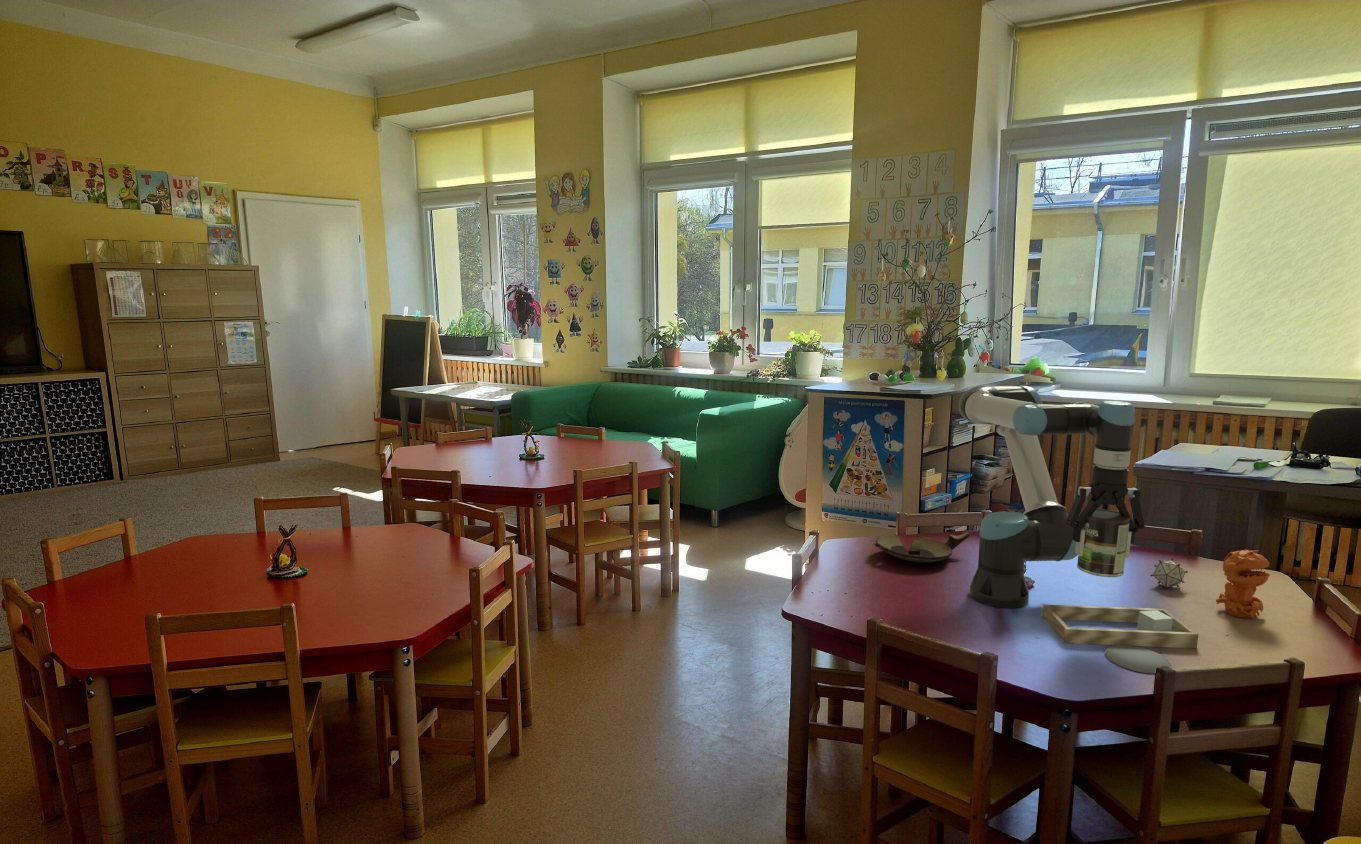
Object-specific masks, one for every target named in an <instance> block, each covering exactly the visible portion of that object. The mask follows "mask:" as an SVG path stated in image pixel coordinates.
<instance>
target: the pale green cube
mask: <svg viewBox="0 0 1361 844" xmlns="http://www.w3.org/2000/svg"><path fill="white" fill-rule="evenodd" d="M1172 622H1173V618H1171V617H1169V616H1167V615H1165V614H1163V613H1161V612H1159V611H1158V610H1154V611H1140V612H1139V619H1138V623H1137V629H1136V630H1142V631H1167V632H1171V631H1172Z"/></svg>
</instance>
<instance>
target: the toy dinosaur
mask: <svg viewBox="0 0 1361 844" xmlns="http://www.w3.org/2000/svg"><path fill="white" fill-rule="evenodd" d="M1259 551H1260V550H1258V549H1256V550H1249V549H1242V550H1236V551H1230V552H1228V553H1227V554H1226V557H1225V556H1224V559H1223V562H1222V563H1223V564H1222V571H1223V572H1224V574H1223V575H1224V576H1225V577H1226V580H1227V581H1228V582H1226V583H1225V585H1224V592H1223V593H1220V594H1219V596H1218V599H1215V602H1216V605H1218V604H1222V603H1224V609H1225V612H1226V613H1227V614H1229V615H1230V616H1234V617H1238V618H1243V619H1245V618H1246V619H1248V618H1249V619H1250V618H1252V619H1253V618H1254V617H1255V615H1257V616H1258V617H1260V615H1261V614H1260V612H1262V613H1263V611H1264V605H1263V604H1264V603H1263V601H1262V600H1261V599H1260V598H1258V597H1256V596H1254V595H1255V594H1256V591H1257V588H1258V587H1260V586H1262V585H1264V584H1265V583H1267V581H1268V579H1269V577H1270V576H1271V574H1270V573H1268V572H1266V571H1265V568H1269V567H1270V561H1269V560H1268V559H1267V558H1266V557H1264V555H1262V554H1259V553H1258V552H1259ZM1263 570H1264V571H1263ZM1259 611H1260V612H1259Z"/></svg>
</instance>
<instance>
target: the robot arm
mask: <svg viewBox="0 0 1361 844" xmlns="http://www.w3.org/2000/svg"><path fill="white" fill-rule="evenodd" d="M958 409H959V410H958V412H959V413H960V415H961V417H962V418H963V419H964V420H965V421H967V422H969V423H971V424H972V423H973V424H976V425H994V426H995V428H996V432H997V433H998V435H999V436H1002V437H1004V439H1005V440H1004V441H1005V444H1006V447H1007V451H1008V455H1009V458H1010V461H1011V464H1012V468H1013V472H1014V475H1015V478H1016V479H1015V480H1016V482H1017V486H1018V489H1019V492H1020V496H1021V499H1022V503H1023V506H1024V509H1025V511H1024V512H1023V513H1022V512H1017V511H1009V510H1007V511H997V512H992V513H989V514H987V515H985V516H984V517H982V519H981V524H980V530H979V547H978V561H977V568H976V571H975V573H974V575H973V578H972V580H971V582H970V585H969V589H968V591H969V592H968V594H969V596H970V598H972V599H973V600H974V601H976V602H978V603H981V604H984V605H986V606H987V605H988V606H990V607H991V606H992V607H996V608H1002V609H1003V608H1004V609H1005V608H1007V609H1017V608H1021V607H1025V606H1027V605H1028V604H1029V601H1030V599H1029V598H1030V593H1029V589H1028V585H1027V582H1026V577H1025V573H1024V572H1025V563H1026V562H1061V561H1070V560H1073V559H1075V558H1076V557H1078V555H1079V556H1083V549H1084V539H1085V530H1084V529H1083V527H1084V525H1085V524H1086V522H1087V518H1086V517H1087V515H1088V516H1092V514H1093V513H1094V512H1095V510H1096V509H1100V507H1101V506H1102V505H1103V506H1106V505H1112V506H1116V508H1117V512H1119V513H1120V515H1122V516H1124V517H1130V522H1129V530H1128V538H1127V546H1126V555H1125V559H1128V558H1130V550H1131V545H1132V544H1133V545H1134V542H1135V537H1136V536H1135V535H1136V533H1137V532H1139V530H1144V529H1145V527H1146V525H1145V521H1144V517H1143V510H1142V507H1141V502H1140V498H1141V490H1139V489H1138V488H1136V487H1131V488H1129V487H1128V486H1127V484H1128V481H1129V469H1128V467H1129V466H1130V463H1131V462H1130V459H1131V452H1132V443H1133V434H1134V428H1135V421H1136V419H1135V412H1136V411H1135V409H1136V408H1135V405H1134V404H1133V403H1131V402H1126V401H1121V400H1120V401H1119V400H1104V401H1101V402H1100V403H1099V405H1096V404H1093V403H1090V402H1083V401H1077V402H1074V403H1070V404H1069V403H1068V404H1045V403H1044V404H1043V400H1042V398H1041V396H1040V394H1039V392H1038V391H1037V389H1035V388H1033V387H1031V386H1029V385H1021V384H1012V385H979V386H978V385H977V386H974V387H971V388H969V389H967V390H966V391H964V392H963V394H962V395H961V397H960V398H959V402H958ZM1041 435H1043V436H1044V435H1048V436H1049V435H1088V436H1092V437H1095V443H1094V453H1093V454H1094V455H1093V463H1094V465H1093V466H1092V474H1091V484H1090V485H1089V486H1088V487H1087V486H1086V487H1085V486H1080V485H1078V486H1077V487H1076V496H1075V499H1074V500H1073V504H1071V505H1072V506H1071V508H1070V511H1069V512H1068V511H1067V510H1068V509H1067V507H1066V506H1065V505H1062V504H1060V503H1059V501H1058V499H1057V495H1056V492H1055V489H1054V486H1053V482H1052V479H1051V476H1050V473H1049V470H1048V467H1047V463H1046V461H1045V460H1046V459H1045V457H1044V453H1043V451H1042V448H1041V443H1040V441H1039V440H1040V439H1039V437H1038V436H1041ZM1089 494H1090V495H1092V496H1091V497H1090V498H1089V500H1088V503H1087V504H1086V506H1085V507H1083V506H1084V504H1085V503H1086V499H1087V497H1088V496H1089ZM1126 495H1127V496H1128V497H1129V498H1128V499H1129V503H1130V508H1131V513H1132V516H1131V515H1130V513H1129V510H1128V509H1127V506H1126V503H1125V501H1124V497H1126ZM1082 509H1083V510H1082Z"/></svg>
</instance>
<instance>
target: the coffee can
mask: <svg viewBox="0 0 1361 844" xmlns="http://www.w3.org/2000/svg"><path fill="white" fill-rule="evenodd" d="M1086 518H1087V522H1086V524H1085V525H1084V527H1083V529H1084V530H1085V539H1084V549H1083V556H1079V555H1077V564H1076V568H1077V569H1078V570H1080V571H1081V572H1083V573H1086V574H1089V575H1092V576H1096V577H1102V578H1119V577H1122V576H1123V575H1124V574H1125V572H1124V570H1125V562H1126V558H1125V555H1126V546H1127V538H1128V530H1129V522H1130V517H1124V516H1122V515H1120V513H1119V511H1118V510H1111V509H1105V508H1097V509H1096V510H1095V512H1094V513H1093V514H1092V516H1088V515H1087V517H1086Z"/></svg>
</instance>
